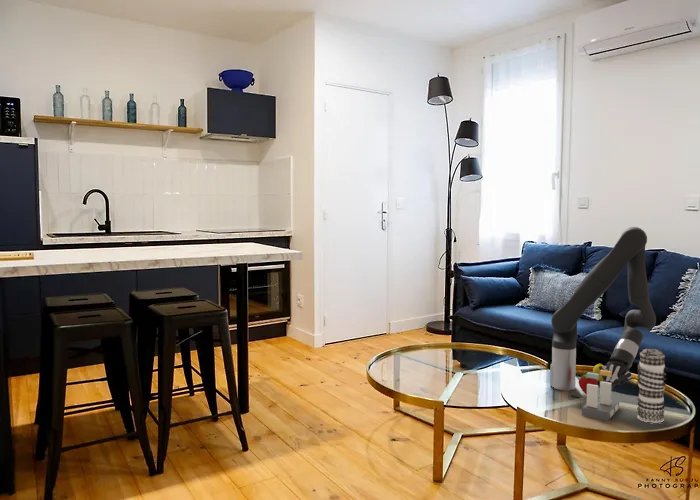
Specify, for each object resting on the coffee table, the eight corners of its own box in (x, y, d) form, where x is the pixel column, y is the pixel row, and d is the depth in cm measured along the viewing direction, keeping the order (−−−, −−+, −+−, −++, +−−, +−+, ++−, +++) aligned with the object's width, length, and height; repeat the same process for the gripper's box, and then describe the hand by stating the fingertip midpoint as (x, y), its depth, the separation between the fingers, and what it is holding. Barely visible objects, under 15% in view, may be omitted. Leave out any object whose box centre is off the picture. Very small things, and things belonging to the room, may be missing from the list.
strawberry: (600, 396, 225) (601, 372, 224) (584, 398, 223) (584, 374, 222) (591, 392, 230) (591, 368, 230) (575, 393, 229) (575, 369, 228)
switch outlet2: (599, 403, 209) (599, 370, 208) (600, 402, 210) (601, 369, 209) (610, 405, 207) (610, 372, 205) (611, 404, 208) (612, 371, 207)
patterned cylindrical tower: (645, 412, 208) (646, 345, 206) (670, 420, 200) (672, 350, 198) (630, 417, 203) (632, 349, 201) (656, 426, 195) (658, 355, 193)
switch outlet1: (586, 406, 206) (586, 373, 205) (587, 404, 208) (588, 372, 207) (597, 408, 204) (597, 375, 203) (598, 406, 205) (599, 373, 204)
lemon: (608, 384, 240) (608, 365, 239) (594, 383, 241) (594, 365, 240) (605, 380, 245) (605, 361, 244) (591, 379, 246) (591, 361, 245)
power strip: (581, 415, 207) (581, 407, 206) (596, 400, 221) (596, 392, 221) (608, 421, 201) (609, 412, 200) (622, 405, 215) (622, 397, 215)
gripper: (604, 344, 219) (585, 382, 213) (638, 351, 208) (620, 391, 202) (611, 355, 222) (593, 392, 216) (645, 362, 212) (627, 402, 206)
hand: (606, 392), depth 209 cm, fingers closed
